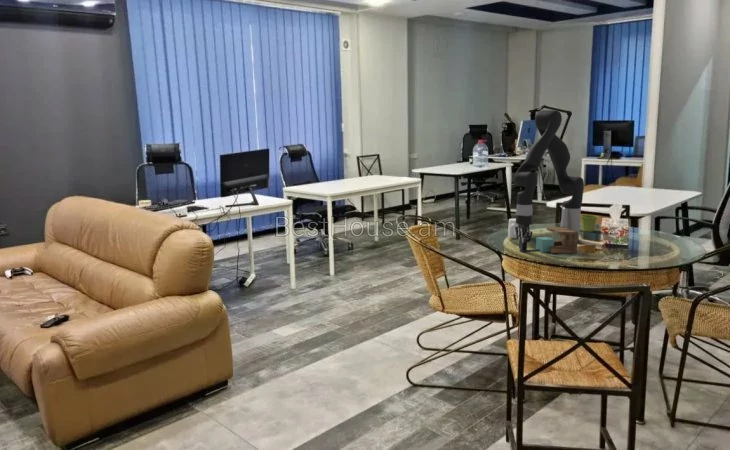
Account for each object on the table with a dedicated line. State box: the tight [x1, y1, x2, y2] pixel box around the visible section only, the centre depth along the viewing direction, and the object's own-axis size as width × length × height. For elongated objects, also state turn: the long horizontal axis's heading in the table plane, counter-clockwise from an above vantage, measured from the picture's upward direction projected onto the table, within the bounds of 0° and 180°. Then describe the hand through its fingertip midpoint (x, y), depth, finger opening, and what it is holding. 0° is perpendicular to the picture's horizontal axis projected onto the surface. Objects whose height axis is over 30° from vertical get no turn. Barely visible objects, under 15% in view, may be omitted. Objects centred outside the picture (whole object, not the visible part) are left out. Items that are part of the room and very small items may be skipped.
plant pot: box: [580, 214, 599, 233], centre depth 317 cm, size 9×9×9 cm
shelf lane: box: [546, 226, 578, 254], centre depth 269 cm, size 13×13×10 cm
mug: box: [507, 218, 518, 239], centre depth 301 cm, size 12×9×8 cm
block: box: [519, 236, 555, 253], centre depth 267 cm, size 6×15×7 cm, turn 101°
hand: (522, 249), depth 266 cm, fingers closed on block, 2 cm apart
